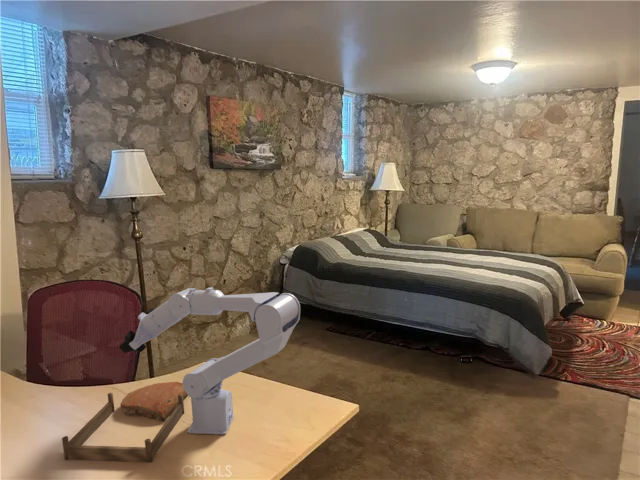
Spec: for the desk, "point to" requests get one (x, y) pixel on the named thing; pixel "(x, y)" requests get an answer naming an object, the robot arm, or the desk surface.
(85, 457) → the wooden square frame
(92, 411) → the desk surface
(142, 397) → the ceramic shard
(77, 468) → the desk surface
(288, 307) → the robot arm
